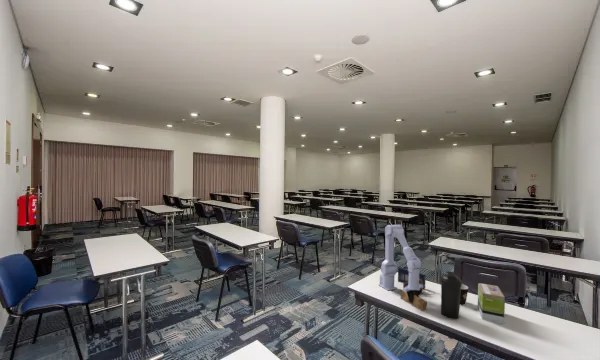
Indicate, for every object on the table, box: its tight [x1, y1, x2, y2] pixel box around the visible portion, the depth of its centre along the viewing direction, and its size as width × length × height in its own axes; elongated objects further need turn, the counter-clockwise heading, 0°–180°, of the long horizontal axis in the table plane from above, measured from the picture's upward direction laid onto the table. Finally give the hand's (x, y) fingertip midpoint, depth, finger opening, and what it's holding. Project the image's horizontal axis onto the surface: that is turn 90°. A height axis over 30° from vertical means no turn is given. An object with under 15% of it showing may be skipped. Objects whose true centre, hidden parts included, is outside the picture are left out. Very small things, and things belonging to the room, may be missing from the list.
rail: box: [400, 289, 428, 312], centre depth 155 cm, size 16×3×5 cm, turn 25°
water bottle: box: [440, 271, 463, 320], centre depth 144 cm, size 10×10×23 cm
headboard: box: [402, 279, 424, 295], centre depth 169 cm, size 5×15×7 cm, turn 115°
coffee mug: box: [460, 283, 469, 306], centre depth 159 cm, size 12×9×10 cm
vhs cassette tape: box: [397, 266, 427, 291], centre depth 182 cm, size 18×3×10 cm, turn 43°
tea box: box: [477, 282, 506, 324], centre depth 145 cm, size 15×10×15 cm, turn 154°
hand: (413, 301), depth 155 cm, fingers closed on rail, 3 cm apart
